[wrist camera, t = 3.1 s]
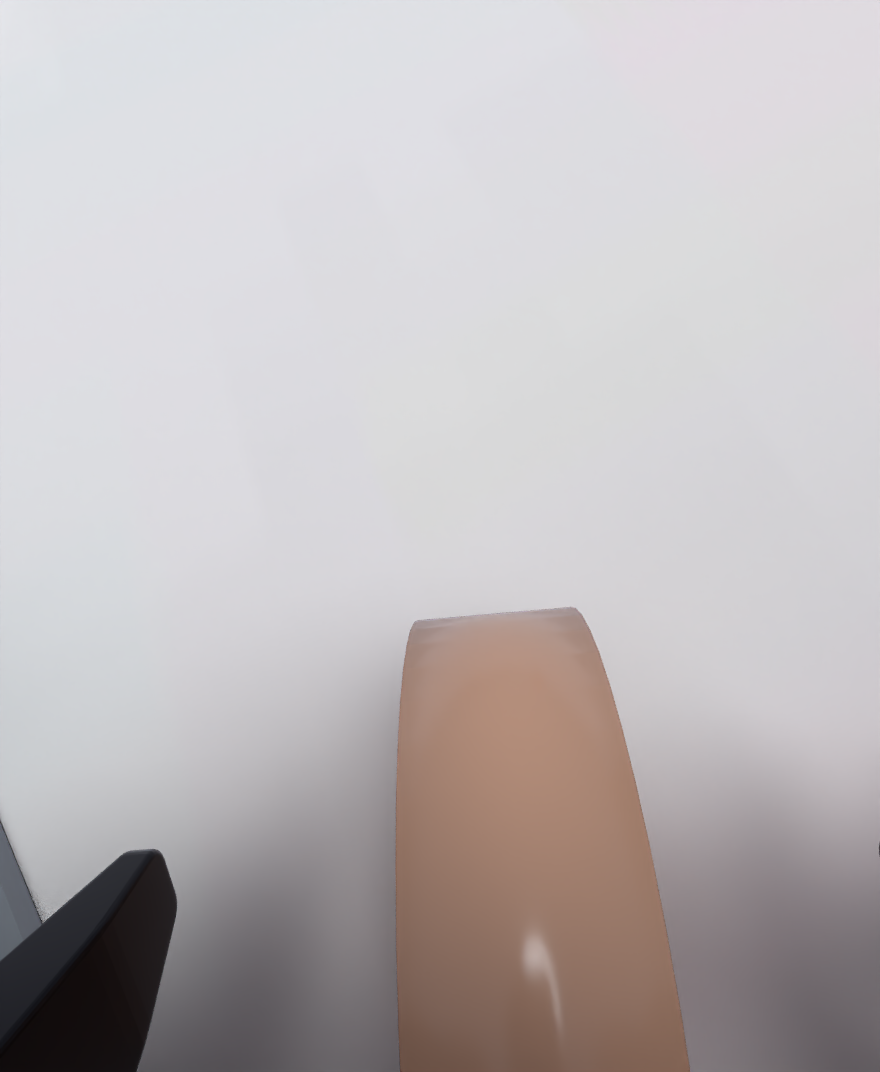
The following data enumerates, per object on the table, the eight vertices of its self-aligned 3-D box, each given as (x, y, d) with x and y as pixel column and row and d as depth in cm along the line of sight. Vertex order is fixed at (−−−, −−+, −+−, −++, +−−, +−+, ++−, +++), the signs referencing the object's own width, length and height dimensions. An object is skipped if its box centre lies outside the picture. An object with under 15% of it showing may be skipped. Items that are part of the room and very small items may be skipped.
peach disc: (635, 1188, 13) (951, 2036, 4) (458, 1195, 13) (340, 2017, 4) (568, 686, 16) (644, 489, 7) (429, 697, 17) (333, 519, 7)
